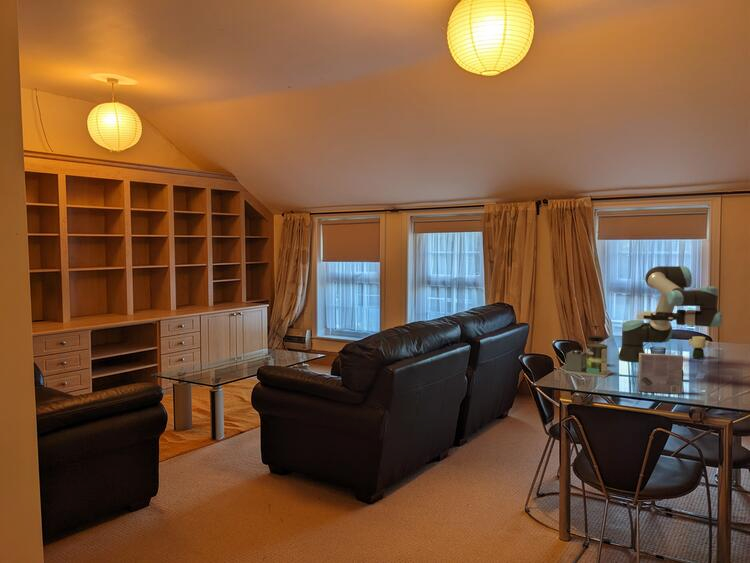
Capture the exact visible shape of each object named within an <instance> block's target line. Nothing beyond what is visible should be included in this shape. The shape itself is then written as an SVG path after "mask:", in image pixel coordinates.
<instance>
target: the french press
mask: <svg viewBox="0 0 750 563" xmlns="http://www.w3.org/2000/svg"><path fill="white" fill-rule="evenodd" d="M591 327H593V328H594V330H595V331H594V333H595V334H594V335H593V334H592V335H587V336H586V337H587V340H588V341H590V342H594V344H597V342H604V338H605V336H602V335H597V328H600V327H601V326H600V325H591Z"/></svg>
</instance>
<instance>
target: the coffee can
mask: <svg viewBox="0 0 750 563" xmlns="http://www.w3.org/2000/svg"><path fill="white" fill-rule="evenodd" d="M586 352H587V367H591V368H600V369H599V374H601V373H607V370H608V369H607V368H608V345H607V344H603V343H596V344H595V343H588V344H586ZM586 371H587V370H586Z"/></svg>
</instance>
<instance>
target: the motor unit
mask: <svg viewBox="0 0 750 563" xmlns="http://www.w3.org/2000/svg"><path fill="white" fill-rule="evenodd" d="M565 355H566V356H565V369H564V370H563V373H564V372H565V373H564V374H570V373H573V374H572V375H581V376H589V377H598V378H607V377H608V376H609V375H611V374H612V370H610V369H609V370H608V369H607V373H601V374H599V369H600V368H591V367H587V351H581V350H579V349H578V350H577V349H575V350H571V351H569V352H566V353H565ZM586 370H587V371H586Z"/></svg>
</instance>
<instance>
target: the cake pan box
mask: <svg viewBox="0 0 750 563" xmlns="http://www.w3.org/2000/svg"><path fill="white" fill-rule="evenodd" d="M683 367H684V355H682V354H666V353H665V354H664V353H646V352H645V353H639V362H638V366H637V368H638V370H637V390H638V391H639V393H656V394H673V393H676V394H677V395H682V394H683V380H684V373H685V372H684V369H683Z"/></svg>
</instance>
